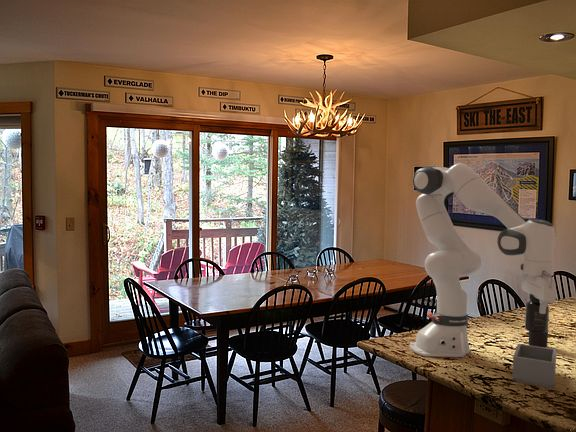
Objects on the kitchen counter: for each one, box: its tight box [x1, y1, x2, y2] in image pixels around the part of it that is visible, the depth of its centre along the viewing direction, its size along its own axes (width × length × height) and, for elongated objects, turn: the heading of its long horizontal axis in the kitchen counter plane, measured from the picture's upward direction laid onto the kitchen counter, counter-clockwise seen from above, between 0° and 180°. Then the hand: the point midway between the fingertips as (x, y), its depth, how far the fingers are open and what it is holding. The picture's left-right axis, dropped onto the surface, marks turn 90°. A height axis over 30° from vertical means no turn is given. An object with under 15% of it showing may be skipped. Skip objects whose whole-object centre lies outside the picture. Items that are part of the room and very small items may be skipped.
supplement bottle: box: [524, 294, 550, 333], centre depth 170 cm, size 7×7×12 cm
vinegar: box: [528, 310, 550, 348], centre depth 204 cm, size 7×7×20 cm
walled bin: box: [512, 343, 557, 389], centre depth 171 cm, size 16×12×8 cm
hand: (537, 310), depth 170 cm, fingers closed on supplement bottle, 7 cm apart
